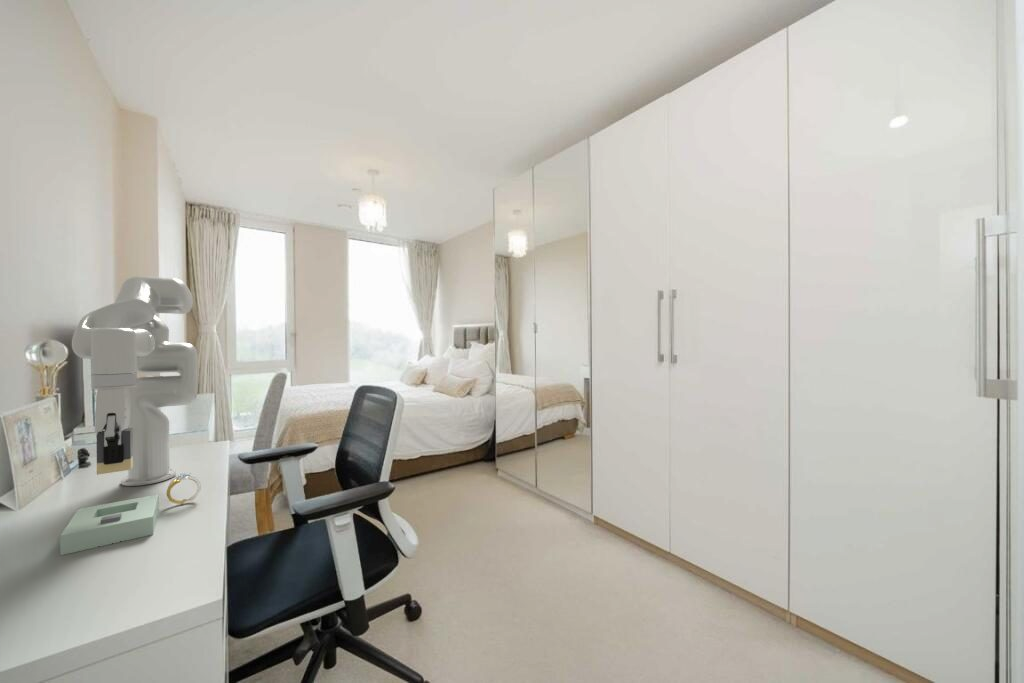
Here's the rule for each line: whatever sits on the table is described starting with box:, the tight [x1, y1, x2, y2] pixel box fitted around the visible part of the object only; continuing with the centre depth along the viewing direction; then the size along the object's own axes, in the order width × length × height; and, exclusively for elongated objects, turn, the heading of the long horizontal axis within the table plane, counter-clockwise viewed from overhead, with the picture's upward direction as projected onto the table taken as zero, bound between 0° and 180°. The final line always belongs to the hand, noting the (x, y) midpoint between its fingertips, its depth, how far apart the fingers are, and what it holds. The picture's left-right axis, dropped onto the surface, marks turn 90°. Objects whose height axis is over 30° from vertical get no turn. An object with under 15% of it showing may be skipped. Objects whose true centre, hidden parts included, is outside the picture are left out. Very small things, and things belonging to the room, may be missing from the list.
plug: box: [95, 427, 133, 476], centre depth 93 cm, size 4×6×9 cm
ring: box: [166, 472, 202, 505], centre depth 106 cm, size 7×3×8 cm, turn 125°
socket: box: [59, 494, 160, 556], centre depth 92 cm, size 16×14×5 cm
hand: (115, 459), depth 93 cm, fingers closed on plug, 4 cm apart
